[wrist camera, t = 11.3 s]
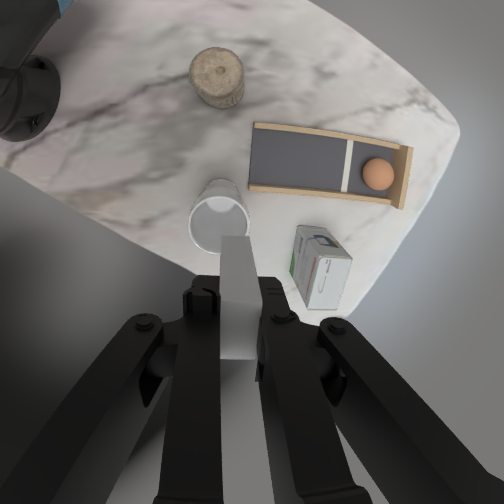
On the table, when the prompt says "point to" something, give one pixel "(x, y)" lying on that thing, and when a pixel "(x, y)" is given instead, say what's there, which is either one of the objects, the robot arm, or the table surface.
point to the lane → (324, 164)
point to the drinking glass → (217, 216)
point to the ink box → (319, 268)
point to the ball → (378, 174)
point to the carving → (217, 77)
